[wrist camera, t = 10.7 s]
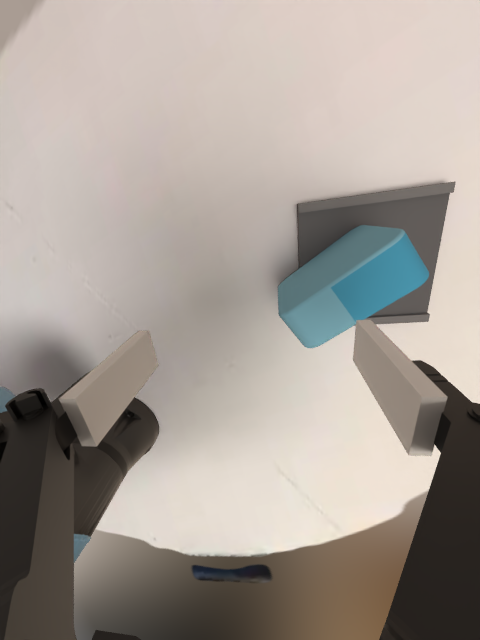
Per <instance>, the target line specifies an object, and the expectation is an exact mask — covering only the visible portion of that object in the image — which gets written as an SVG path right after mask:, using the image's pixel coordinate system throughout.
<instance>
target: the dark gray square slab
mask: <svg viewBox="0 0 480 640" xmlns="http://www.w3.org/2000/svg"><path fill="white" fill-rule="evenodd" d="M454 187H455V182H449V183H442V184H435V185H428V186H420V187H413V188H406V189H399V190H392V191H385V192H378V193H371V194H364V195H357V196H350V197H343V198H336V199H328V200H321V201H314V202H307V203H300V204H297V214H298V249H299V268H301V267H302V266H303V265H305V264H306V263H307V262H309V261H310V260H311V259H313V258H314V257H316V256H317V255H318V254H320V253H321V252H322V251H324V250H325V249H326V248H328V247H329V246H330V245H332V244H333V243H334V242H336V241H337V240H338V239H340V238H341V237H342V236H344V235H345V234H346V233H348V232H349V231H351V230H352V229H354V228H356V227H358V226H360V225H369V226H379V227H388V228H398V229H403V230H404V231H405V233H406V234H407V236H408V238H409V239H410V241H411V243H412V244H413V246H414V248H415V249H416V251H417V253H418V254H419V256H420V258H421V259H422V261H423V263H424V264H425V266H426V268H427V269H428V271H429V277H428V279H427V280H426V282H425V283H424V284H422V285H421V286H420V287H418V288H417V289H415V290H413V291H412V292H410V293H408V294H407V295H405V296H403V297H402V298H400V299H398V300H396V301H395V302H393V303H391V304H390V305H388V306H386V307H385V308H383V309H381V310H379V311H378V312H376V313H374V314H373V315H371V316H369V317H368V318H366V319H364V320H371V321H372V322H373V323H374V324H390V323H409V322H428V321H429V315H430V314H428V313H427V310H428V305H429V300H430V294H431V289H432V284H433V279H434V273H435V268H436V263H437V257H438V252H439V247H440V242H441V236H442V231H443V226H444V221H445V215H446V210H447V205H448V200H449V194H450V193H452V192H454Z"/></svg>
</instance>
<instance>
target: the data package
mask: <svg viewBox="0 0 480 640" xmlns="http://www.w3.org/2000/svg"><path fill="white" fill-rule="evenodd" d="M428 277H429V271H428V269H427V268H426V266H425V264H424V263H423V261H422V259H421V258H420V256H419V254H418V253H417V251H416V249H415V248H414V246H413V244H412V243H411V241H410V239H409V238H408V236H407V234H406V233H405V231H404V230H403V229H398V228H388V227H379V226H369V225H360V226H358V227H356V228H354V229H352V230H351V231H349V232H348V233H346V234H345V235H344V236H342V237H341V238H340V239H338V240H337V241H336V242H334V243H333V244H332V245H330V246H329V247H328V248H326V249H325V250H324V251H322V252H321V253H320V254H318V255H317V256H316V257H314V258H313V259H311V260H310V261H309V262H307V263H306V264H305V265H303V266H302V267H301V268H299V269H298V270H297V271H295V272H294V273H293V274H291V275H290V276H289V277H287V278H286V279H285V280H284V281H283V282H282V283H281V284H280V285H279V286H278V309H279V316H280V317H281V318H282V320H283V321H284V322H285V323H286V325H287V326H288V327H289V328H290V329H291V331H292V332H293V333H294V334H295V336H296V337H297V338H298V339H299V340H300V342H301V343H302V344H303V345H304V346H305V347H307V348H314V347H318V346H320V345H322V344H323V343H325V342H327V341H328V340H330V339H332V338H334V337H335V336H337V335H339V334H340V333H342V332H344V331H345V330H347V329H349V328H351V327H352V326H354V325H356V320H364V319H366V318H368V317H369V316H371V315H373V314H374V313H376V312H378V311H379V310H381V309H383V308H385V307H386V306H388V305H390V304H391V303H393V302H395V301H396V300H398V299H400V298H402V297H403V296H405V295H407V294H408V293H410V292H412V291H413V290H415V289H417V288H418V287H420V286H421V285H422V284H424V283H425V282H426V280H427V279H428Z"/></svg>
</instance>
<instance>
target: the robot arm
mask: <svg viewBox="0 0 480 640" xmlns="http://www.w3.org/2000/svg"><path fill="white" fill-rule="evenodd" d="M353 361H354V363H355V365H356V366H357V368H358V370H359V371H360V373H361V375H362V376H363V378H364V380H365V382H366V383H367V385H368V387H369V388H370V390H371V392H372V394H373V395H374V397H375V399H376V400H377V402H378V404H379V405H380V407H381V409H382V411H383V412H384V414H385V416H386V417H387V419H388V421H389V423H390V424H391V426H392V428H393V429H394V431H395V433H396V435H397V436H398V438H399V440H400V441H401V443H402V445H403V446H404V448H405V450H406V452H407V453H408V455H411V456H431V455H432V451H433V448H434V444H435V445H436V447H437V448H438V450H439V451H440V452H441V455H440V458H439V461H438V464H437V467H436V470H435V474H434V477H433V480H432V483H431V486H430V489H429V492H428V495H427V498H426V501H425V504H424V507H423V510H422V513H421V516H420V519H419V523H418V525H417V529H416V531H415V535H414V538H413V541H412V544H411V547H410V550H409V553H408V556H407V559H406V562H405V565H404V568H403V571H402V574H401V577H400V581H399V583H398V587H397V590H396V593H395V596H394V599H393V602H392V605H391V608H390V611H389V614H388V617H387V620H386V623H385V625H384V628H383V630H382V634H381V636H380V639H379V640H480V404H477V403H472V402H471V401H470V400H469V399H468V398H467V397H465V396H464V395H463V394H462V393H461V392H460V391H459V390H458V389H457V388H456V387H454V386H453V385H452V384H451V383H450V382H448V380H447V379H446V378H445V377H443V376H441V374H440V373H439V372H438V371H437V370H436V369H435V368H434V367H432V366H430V365H428V364H427V363H425V362H423V361H421V360H420V361H411V360H410V359H409V358H408V357H407V356H406V355H405V354H404V353H403V352H402V351H401V350H400V349H399V348H398V347H397V346H396V345H395V344H394V343H393V342H392V341H391V340H390V339H389V338H388V337H387V336H386V335H385V334H384V333H383V332H382V331H381V330H380V329H379V328H378V327H377V326H376V325H375V324H374V323H373V322H372V321H371V320H356V331H355V343H354V355H353ZM158 366H159V365H158V361H157V358H156V354H155V350H154V347H153V343H152V340H151V336H150V332H149V331H138V332H137V333H136V334H134V335H133V336H132V337H131V338H130V339H128V340H127V341H126V342H125V343H124V344H123V345H121V346H120V347H119V348H118V349H117V350H116V351H114V352H113V353H112V354H111V355H110V356H108V357H107V358H106V359H105V360H104V361H103V362H101V363H100V364H99V365H98V366H97V367H96V368H94V369H93V370H92V371H91V372H89V373H87V374H85V375H84V376H83V377H82V378H80V379H79V380H78V381H77V382H76V383H74V384H73V385H72V386H71V387H70V388H68V389H67V390H66V391H65V392H64V393H62V394H61V395H60V396H59V397H58V398H57V399H55V400H54V401H53V402H52V403H50V401H49V399H48V397H47V395H46V393H45V391H44V389H33V390H29V391H26V392H24V393H21V394H19V395H17V396H15V395H14V394H13V393H12V392H11V391H9V390H8V389H7V388H5V387H2V386H0V640H77V639H76V635H75V630H74V615H73V614H74V562H75V561H76V559H77V558H78V556H79V555H80V553H81V551H82V550H83V549H84V547H85V546H86V544H87V543H88V542H89V541H90V539H91V535H92V533H93V532H94V530H95V528H96V526H97V525H98V523H99V521H100V519H101V518H102V516H103V514H104V512H105V511H106V509H107V507H108V505H109V504H110V502H111V500H112V498H113V496H114V495H115V493H116V491H117V489H118V488H119V486H120V484H121V482H122V481H123V479H124V477H125V476H126V474H127V472H128V471H129V470H130V469H131V468H132V466H133V465H134V464H135V463H136V462H137V461H138V460H139V459H140V458H141V457H142V456H143V455H144V454H146V453H147V452H148V451H149V450H150V449H151V448H152V446H153V444H154V443H155V441H156V439H157V437H158V434H159V426H158V422H157V420H156V418H155V416H154V414H153V413H152V412H151V411H150V409H149V408H148V407H146V406H145V405H144V404H143V403H141V402H140V401H138V400H137V399H135V398H134V397H135V396H136V394H137V393H138V392H139V390H140V389H141V388H142V387H143V385H144V384H145V383H146V381H147V380H148V379H149V377H150V376H151V375H152V373H153V372H154V371H155V370H156V368H157V367H158ZM92 640H141V639H139V638H138V637H136V636H131V635H124V634H117V633H112V632H105V631H98V630H96V631H95V634H94V636H93V638H92Z"/></svg>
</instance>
